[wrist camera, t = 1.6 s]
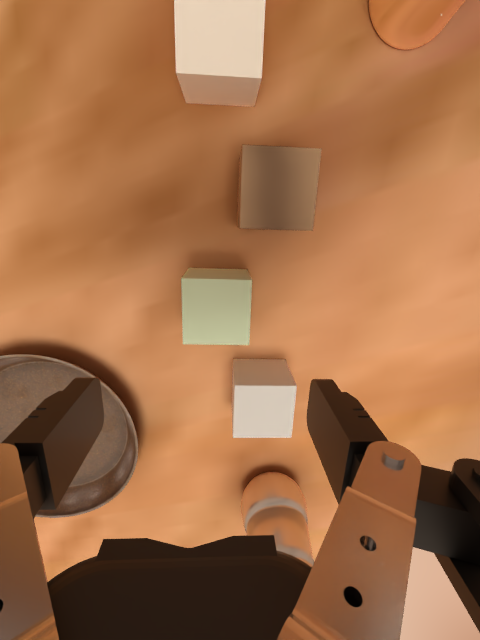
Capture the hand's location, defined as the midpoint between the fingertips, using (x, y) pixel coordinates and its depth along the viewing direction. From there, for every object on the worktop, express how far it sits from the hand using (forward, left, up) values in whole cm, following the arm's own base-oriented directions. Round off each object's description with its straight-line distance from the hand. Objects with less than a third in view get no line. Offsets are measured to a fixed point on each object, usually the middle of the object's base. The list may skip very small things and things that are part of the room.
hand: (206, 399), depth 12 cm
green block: (0, 0, -16) cm, 16 cm away
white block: (0, -17, -16) cm, 24 cm away
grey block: (-4, +8, -16) cm, 19 cm away
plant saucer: (+16, +13, -17) cm, 27 cm away
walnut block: (-4, -9, -16) cm, 19 cm away
